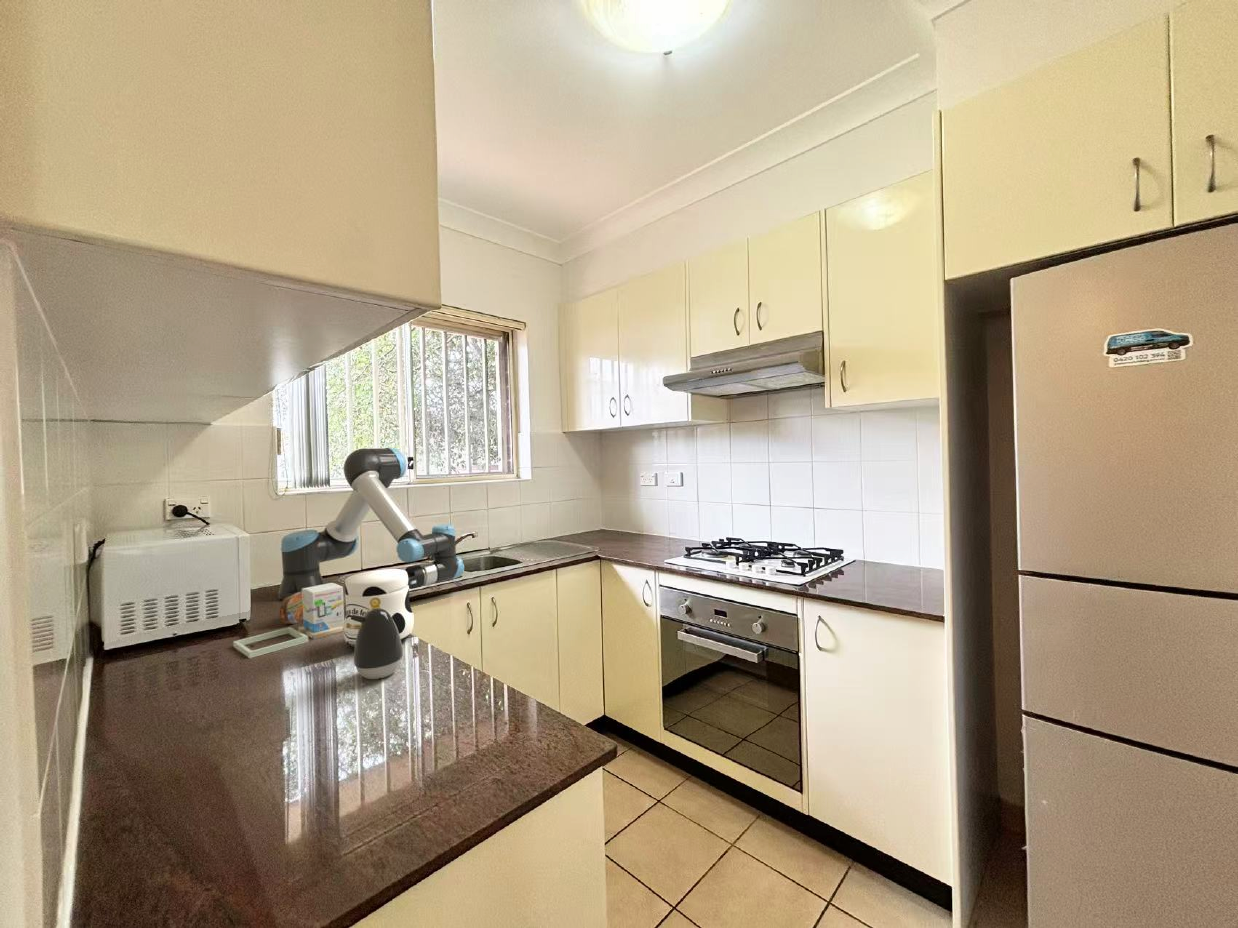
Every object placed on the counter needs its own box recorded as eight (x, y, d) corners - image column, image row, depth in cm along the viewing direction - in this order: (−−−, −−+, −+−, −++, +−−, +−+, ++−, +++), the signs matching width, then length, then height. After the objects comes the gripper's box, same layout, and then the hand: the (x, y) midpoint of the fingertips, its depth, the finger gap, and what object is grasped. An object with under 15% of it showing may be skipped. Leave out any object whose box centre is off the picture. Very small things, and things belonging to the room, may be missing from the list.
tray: (233, 646, 139) (233, 641, 139) (290, 632, 149) (290, 626, 149) (249, 658, 130) (249, 652, 130) (308, 641, 141) (308, 636, 140)
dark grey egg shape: (357, 669, 120) (354, 605, 120) (405, 662, 124) (402, 600, 123) (349, 688, 111) (346, 618, 110) (401, 679, 114) (398, 612, 114)
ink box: (313, 633, 144) (311, 592, 144) (302, 627, 150) (300, 588, 149) (345, 625, 150) (343, 585, 150) (334, 619, 156) (332, 581, 156)
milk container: (335, 658, 128) (331, 586, 128) (353, 634, 145) (350, 571, 145) (409, 649, 132) (405, 580, 132) (418, 627, 149) (415, 566, 149)
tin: (288, 627, 153) (287, 599, 153) (278, 627, 154) (276, 600, 153) (318, 611, 168) (317, 586, 168) (309, 612, 169) (308, 586, 168)
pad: (297, 630, 150) (297, 627, 150) (334, 621, 158) (333, 618, 158) (314, 639, 142) (313, 635, 142) (351, 628, 150) (351, 625, 150)
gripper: (440, 591, 165) (374, 609, 149) (401, 581, 181) (338, 596, 165) (439, 568, 165) (373, 583, 149) (400, 560, 181) (337, 572, 165)
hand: (354, 590), depth 157 cm, fingers open, 13 cm apart
